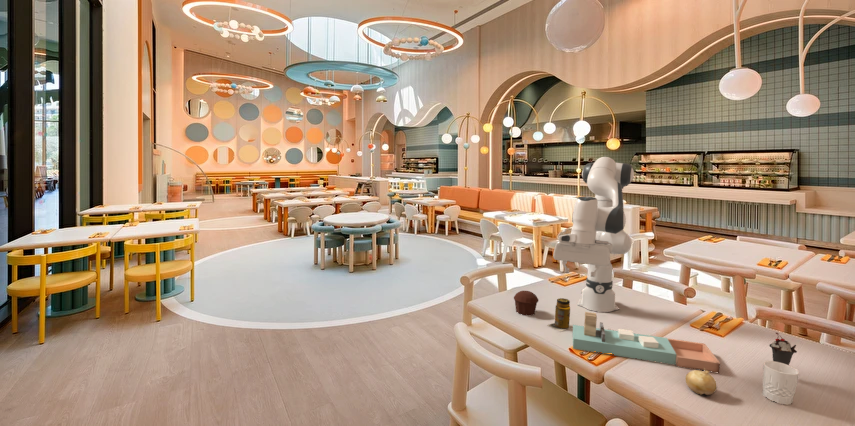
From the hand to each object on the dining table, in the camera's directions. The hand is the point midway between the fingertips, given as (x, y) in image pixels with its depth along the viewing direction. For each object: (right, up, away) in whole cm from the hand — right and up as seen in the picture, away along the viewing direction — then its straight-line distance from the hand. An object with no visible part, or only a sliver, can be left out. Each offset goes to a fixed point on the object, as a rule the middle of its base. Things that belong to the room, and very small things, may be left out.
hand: (579, 274), depth 148 cm
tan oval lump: (+27, -32, -27) cm, 50 cm away
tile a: (+19, -24, +2) cm, 31 cm away
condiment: (0, -26, +21) cm, 33 cm away
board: (+16, -29, +1) cm, 33 cm away
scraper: (+7, -24, +4) cm, 25 cm away
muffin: (-11, -24, +37) cm, 46 cm away
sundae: (+60, -32, -18) cm, 70 cm away
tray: (+38, -30, -7) cm, 49 cm away
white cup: (+48, -33, -30) cm, 66 cm away
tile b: (+24, -25, -4) cm, 35 cm away
